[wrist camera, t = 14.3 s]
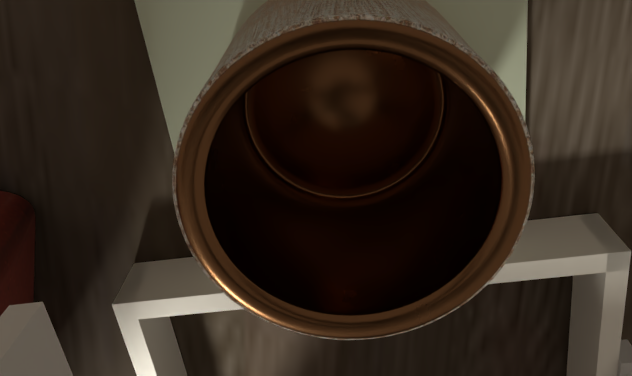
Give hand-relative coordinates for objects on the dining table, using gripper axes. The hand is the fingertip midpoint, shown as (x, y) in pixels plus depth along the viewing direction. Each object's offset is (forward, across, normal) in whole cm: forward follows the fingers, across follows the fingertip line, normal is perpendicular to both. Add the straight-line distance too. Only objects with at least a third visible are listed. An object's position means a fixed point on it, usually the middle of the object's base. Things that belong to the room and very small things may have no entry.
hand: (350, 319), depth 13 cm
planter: (+15, 0, 0) cm, 15 cm away
